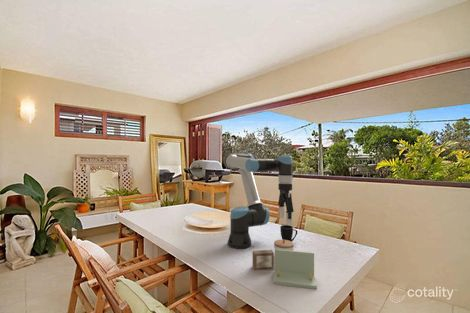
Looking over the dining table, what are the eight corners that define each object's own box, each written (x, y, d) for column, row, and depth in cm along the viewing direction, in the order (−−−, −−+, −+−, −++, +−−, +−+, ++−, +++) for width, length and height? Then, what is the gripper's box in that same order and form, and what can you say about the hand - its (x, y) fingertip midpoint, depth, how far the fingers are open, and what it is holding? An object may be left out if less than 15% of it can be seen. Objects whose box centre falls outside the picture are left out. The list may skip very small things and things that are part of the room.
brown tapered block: (254, 270, 112) (254, 254, 112) (252, 266, 116) (252, 250, 116) (273, 269, 113) (273, 253, 113) (271, 265, 117) (271, 249, 117)
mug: (292, 245, 144) (292, 230, 145) (277, 240, 154) (277, 226, 154) (300, 242, 150) (300, 228, 150) (285, 237, 159) (285, 224, 159)
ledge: (273, 283, 100) (273, 258, 100) (274, 271, 110) (274, 248, 111) (316, 289, 96) (316, 262, 96) (313, 276, 106) (313, 252, 107)
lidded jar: (281, 262, 121) (281, 244, 121) (270, 254, 131) (270, 238, 131) (297, 258, 125) (297, 241, 125) (285, 251, 135) (285, 235, 135)
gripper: (300, 185, 115) (299, 227, 114) (285, 180, 140) (285, 215, 139) (285, 185, 114) (285, 228, 114) (273, 180, 139) (273, 215, 139)
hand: (285, 221), depth 127 cm, fingers open, 13 cm apart
